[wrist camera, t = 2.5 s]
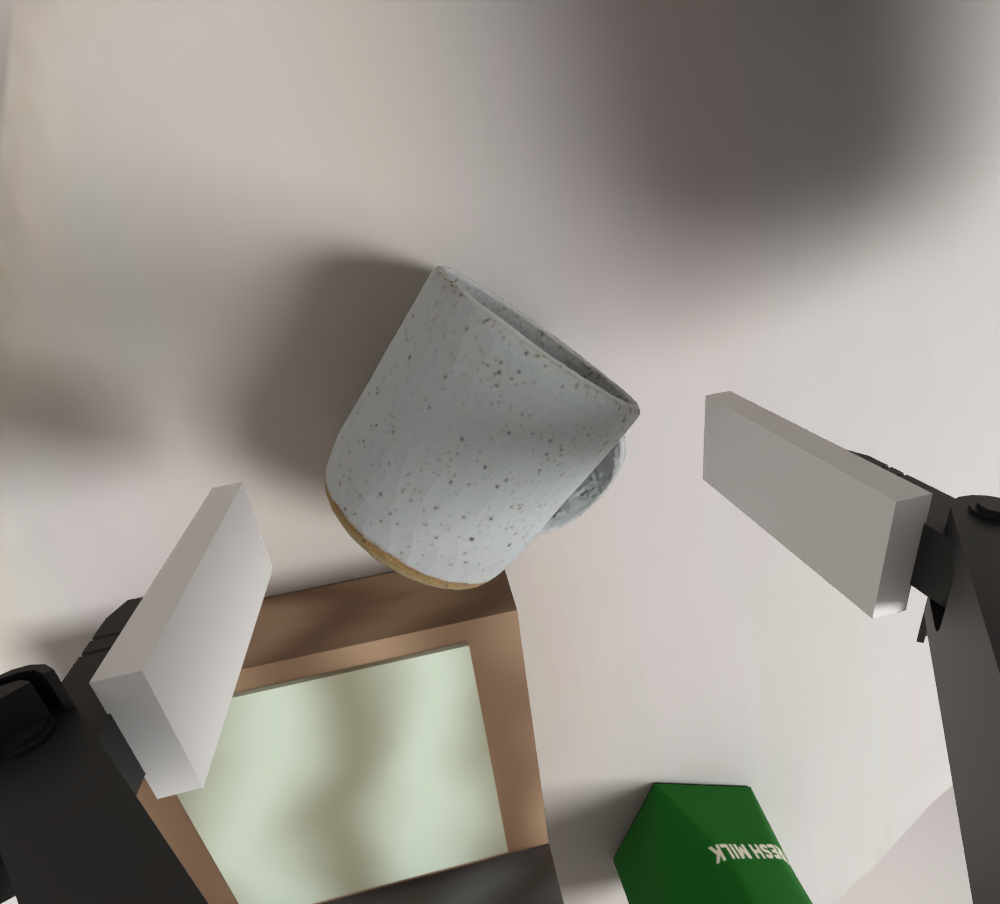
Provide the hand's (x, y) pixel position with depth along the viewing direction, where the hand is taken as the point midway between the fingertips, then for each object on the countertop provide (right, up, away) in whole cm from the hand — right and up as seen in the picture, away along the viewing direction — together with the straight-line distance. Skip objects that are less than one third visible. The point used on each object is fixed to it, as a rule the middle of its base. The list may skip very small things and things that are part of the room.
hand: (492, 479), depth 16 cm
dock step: (-7, -12, +11) cm, 18 cm away
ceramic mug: (0, +3, +6) cm, 7 cm away
